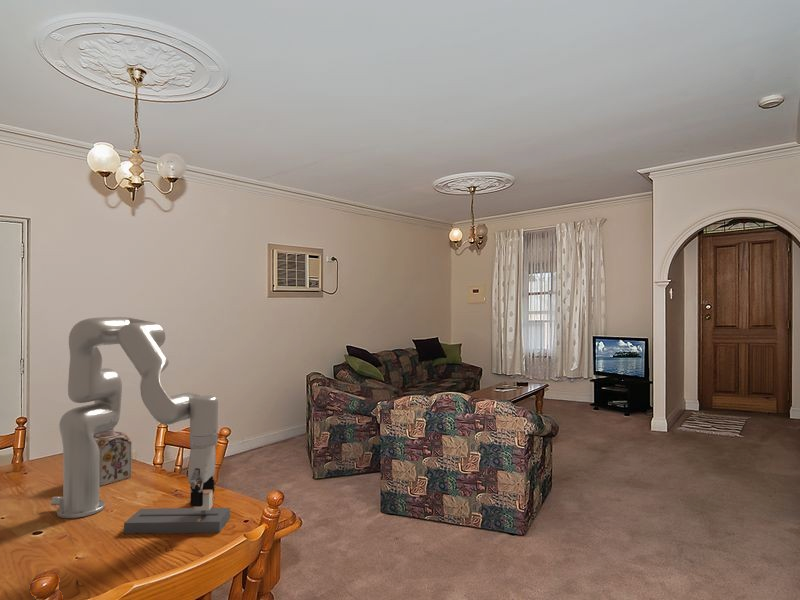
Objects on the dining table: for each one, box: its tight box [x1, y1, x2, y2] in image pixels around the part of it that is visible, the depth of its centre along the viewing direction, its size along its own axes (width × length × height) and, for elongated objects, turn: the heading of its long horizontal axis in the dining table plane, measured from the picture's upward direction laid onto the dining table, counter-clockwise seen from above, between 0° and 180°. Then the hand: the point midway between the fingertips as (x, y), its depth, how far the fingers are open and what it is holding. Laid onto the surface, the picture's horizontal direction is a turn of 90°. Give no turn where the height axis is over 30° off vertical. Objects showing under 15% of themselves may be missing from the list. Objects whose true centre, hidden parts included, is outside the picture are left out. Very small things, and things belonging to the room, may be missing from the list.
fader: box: [194, 490, 214, 515], centre depth 150 cm, size 4×3×6 cm
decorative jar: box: [93, 427, 133, 487], centre depth 189 cm, size 12×12×18 cm
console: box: [123, 507, 231, 535], centre depth 150 cm, size 26×10×3 cm, turn 92°
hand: (202, 499), depth 150 cm, fingers open, 9 cm apart
